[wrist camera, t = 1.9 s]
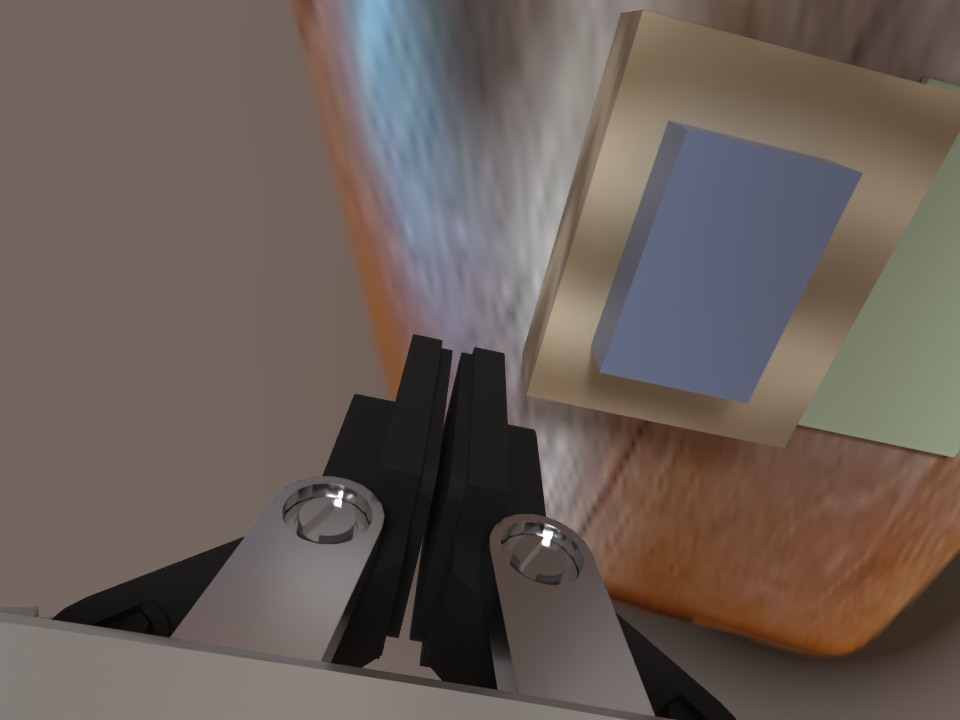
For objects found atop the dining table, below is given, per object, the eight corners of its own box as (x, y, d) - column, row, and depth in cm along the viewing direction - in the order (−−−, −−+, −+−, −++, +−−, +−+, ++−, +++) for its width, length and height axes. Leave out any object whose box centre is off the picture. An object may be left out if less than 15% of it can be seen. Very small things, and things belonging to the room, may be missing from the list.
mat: (923, 77, 25) (929, 78, 24) (1169, 142, 26) (1178, 144, 25) (753, 411, 32) (755, 415, 32) (949, 452, 33) (954, 457, 33)
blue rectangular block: (668, 120, 22) (687, 129, 20) (827, 159, 22) (862, 172, 20) (591, 344, 26) (599, 372, 24) (726, 373, 26) (747, 403, 24)
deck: (621, 13, 24) (643, 9, 20) (909, 89, 25) (978, 98, 21) (522, 353, 31) (526, 395, 27) (751, 402, 32) (784, 448, 28)
